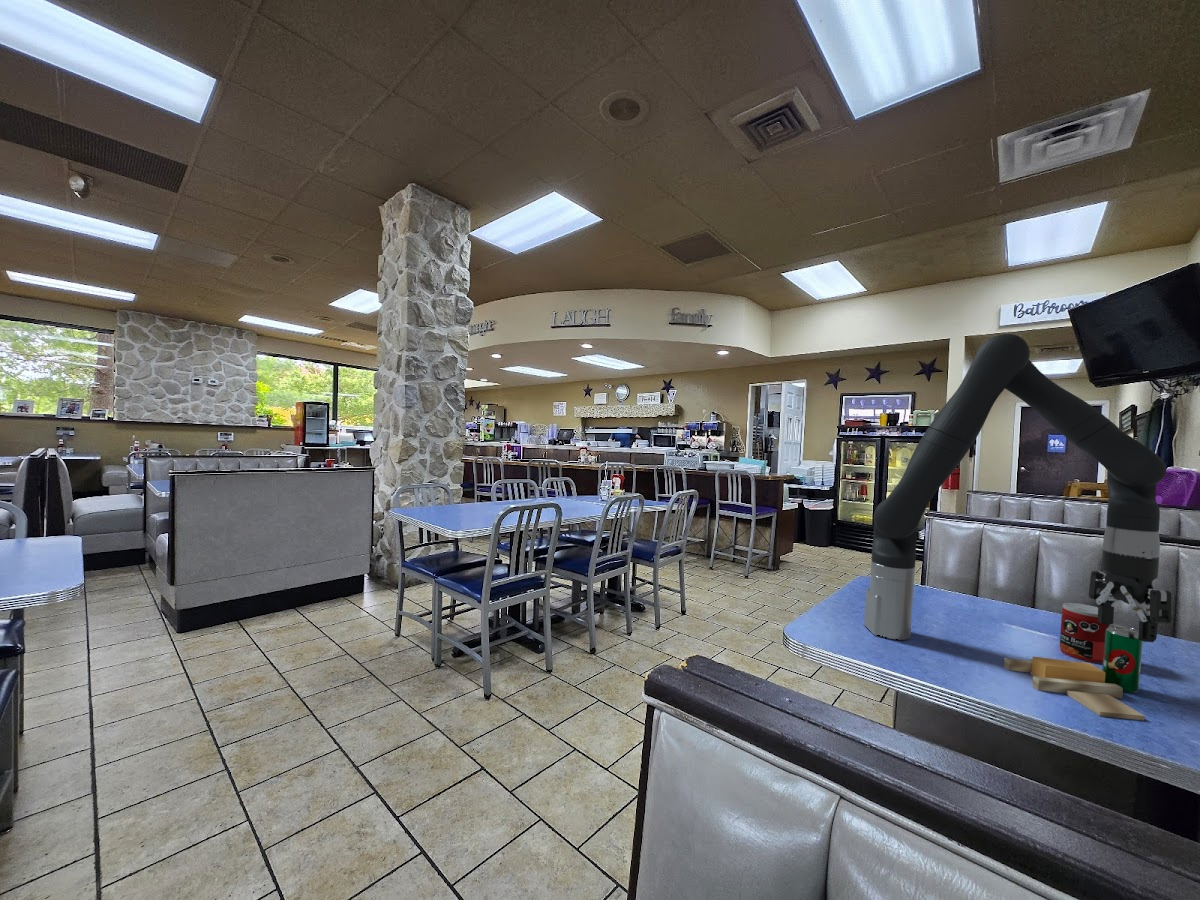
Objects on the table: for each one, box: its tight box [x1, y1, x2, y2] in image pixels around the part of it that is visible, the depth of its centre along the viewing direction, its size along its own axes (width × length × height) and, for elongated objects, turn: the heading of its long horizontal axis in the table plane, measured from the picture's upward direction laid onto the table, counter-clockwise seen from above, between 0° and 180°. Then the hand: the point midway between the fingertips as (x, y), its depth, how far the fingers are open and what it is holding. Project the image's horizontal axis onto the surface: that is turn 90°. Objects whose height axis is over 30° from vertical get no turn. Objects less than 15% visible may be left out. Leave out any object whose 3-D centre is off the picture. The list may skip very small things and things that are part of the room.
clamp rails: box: [1003, 657, 1124, 699], centre depth 98 cm, size 14×10×2 cm, turn 83°
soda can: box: [1101, 623, 1144, 694], centre depth 96 cm, size 5×5×12 cm
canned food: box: [1059, 602, 1109, 664], centre depth 111 cm, size 8×8×11 cm
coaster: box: [1066, 691, 1146, 721], centre depth 89 cm, size 7×7×1 cm
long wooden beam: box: [1030, 656, 1106, 683], centre depth 98 cm, size 10×4×4 cm, turn 78°
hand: (1125, 632), depth 96 cm, fingers open, 8 cm apart
